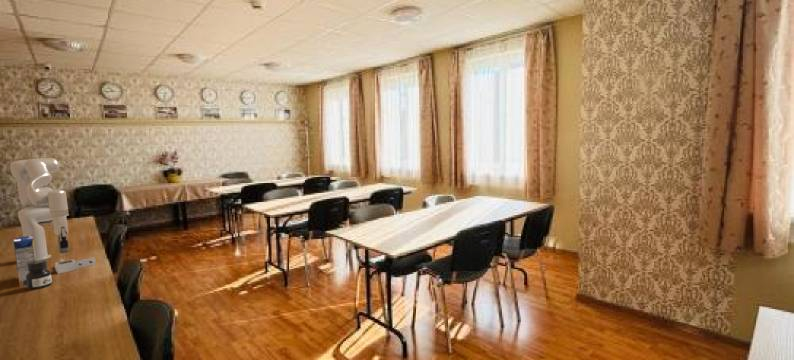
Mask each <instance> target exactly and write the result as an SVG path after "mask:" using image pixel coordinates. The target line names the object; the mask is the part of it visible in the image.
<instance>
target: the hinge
mask: <svg viewBox="0 0 794 360" xmlns="http://www.w3.org/2000/svg"><path fill="white" fill-rule="evenodd" d="M94 265H95V266H96V257H94V256H93V257H88V258H84V259H79V260H75V259H73V258H72V259H67V260H65V259H63V258H59V261H57V262H54V268H55V269H54V270H55V272H56V273H57V275H58V274H64V273H67V272H74V271H77V270H78V269H82V268H84V267H85V268H86V267H89V266H94Z"/></svg>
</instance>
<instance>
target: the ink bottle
mask: <svg viewBox="0 0 794 360" xmlns="http://www.w3.org/2000/svg"><path fill="white" fill-rule="evenodd" d="M27 267H28V271H29V273H28V274H27V275H26V282H27V285H26V287H27V289H28V290H38V289H43V288H46V287H49V286H51V285H52V284H53V280H52V272H51V270H50V269H48V264H47V259H45V260H38V261H33V262H29V263H27Z"/></svg>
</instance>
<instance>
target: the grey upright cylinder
mask: <svg viewBox="0 0 794 360" xmlns="http://www.w3.org/2000/svg"><path fill="white" fill-rule="evenodd" d="M67 240H68V238H67ZM68 241H69V240H68ZM57 245H58V252H59V254H64V253H69V252H70V248H69V245H68V248H62V249H61V248H60V239H59V240H58V239H57Z"/></svg>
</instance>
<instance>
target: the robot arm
mask: <svg viewBox="0 0 794 360" xmlns="http://www.w3.org/2000/svg"><path fill="white" fill-rule="evenodd" d="M9 168H10V173H11V174H12V176H13V178H14V179H15V182H16V185H17V192H18V198H19V202H20V204H21V205H22V206H23V205H24V206H30V207H25V208H22V209H20V210H19V211H18V215H17V216H18V219H19V222H20V225H21V229H22V237H25V236H33V242H34V250H35V258H36V261H38V260H49V259H50V258H52V255H51V254H48V248H47V247H48V245H47V240H46V233H45V232H46V231H45V228H44V227H43V226H42V225H40V224H39V223H44V222H49V221H52V225H53V226H52V227H53V228H52V229H53V235H55V236H56V237H57V238H58V239H57V241H58V240H59V239H60V248H61V249H62V248H68V246H69V240H67V239H68V234H69V225H68V220H67V219H68V218H67V217H68V216H70V214H69V205H68V200H67V198H68V197H67V192H66V190H62V189H53V188H51V187H48V186H47V185H48V184H50V183H51V182H52V179H53V177H52V174H51V173H57V172H58V171H59V169H60V164H59V162H58V160H57V159H56V158H53V157H40V158H30V159H21V160H20V159H19V160H15V161H13V162H12V161H11V163H10V167H9ZM45 186H47V187H45ZM32 205H35V206H32Z"/></svg>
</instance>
